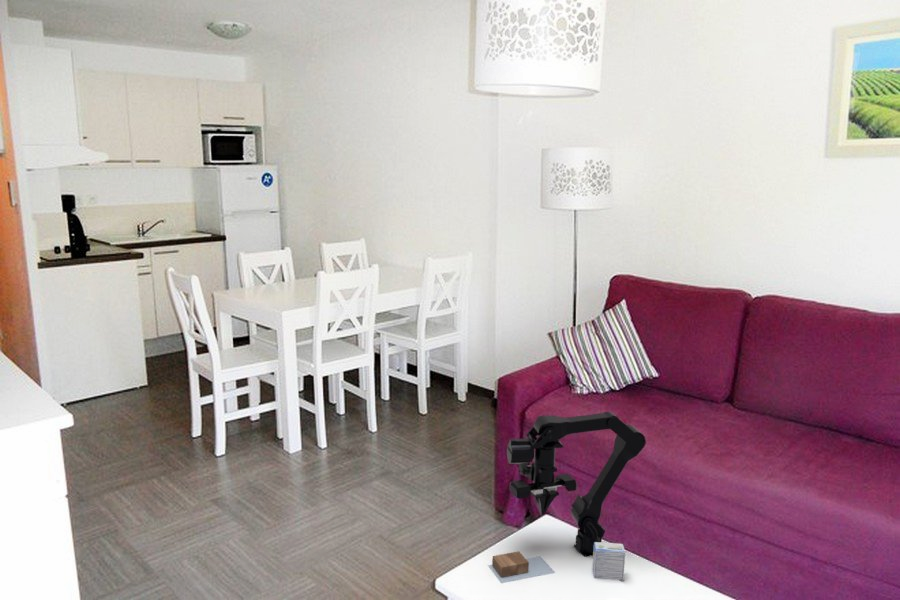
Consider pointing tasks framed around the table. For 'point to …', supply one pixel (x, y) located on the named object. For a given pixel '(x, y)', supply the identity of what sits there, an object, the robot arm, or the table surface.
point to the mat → (535, 569)
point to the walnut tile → (510, 564)
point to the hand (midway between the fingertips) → (542, 514)
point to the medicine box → (608, 561)
